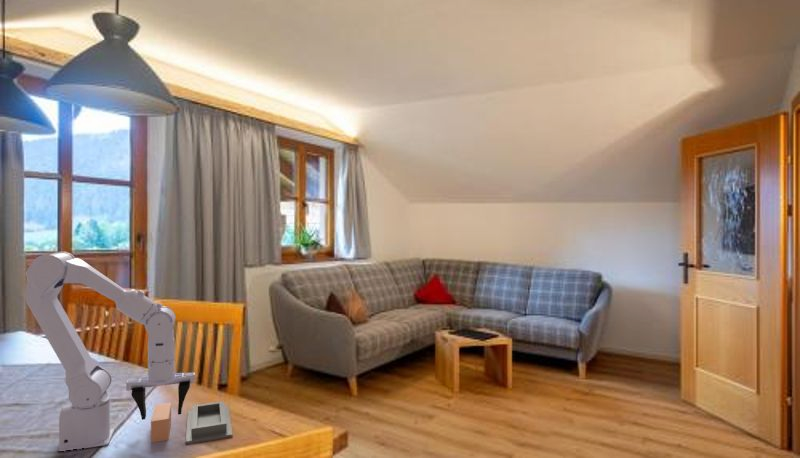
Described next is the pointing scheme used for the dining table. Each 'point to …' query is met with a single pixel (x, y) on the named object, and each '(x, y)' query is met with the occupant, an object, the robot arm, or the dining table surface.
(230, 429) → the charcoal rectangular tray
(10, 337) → the dining table surface
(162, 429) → the terracotta bar
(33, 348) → the dining table surface
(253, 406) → the dining table surface
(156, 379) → the robot arm
